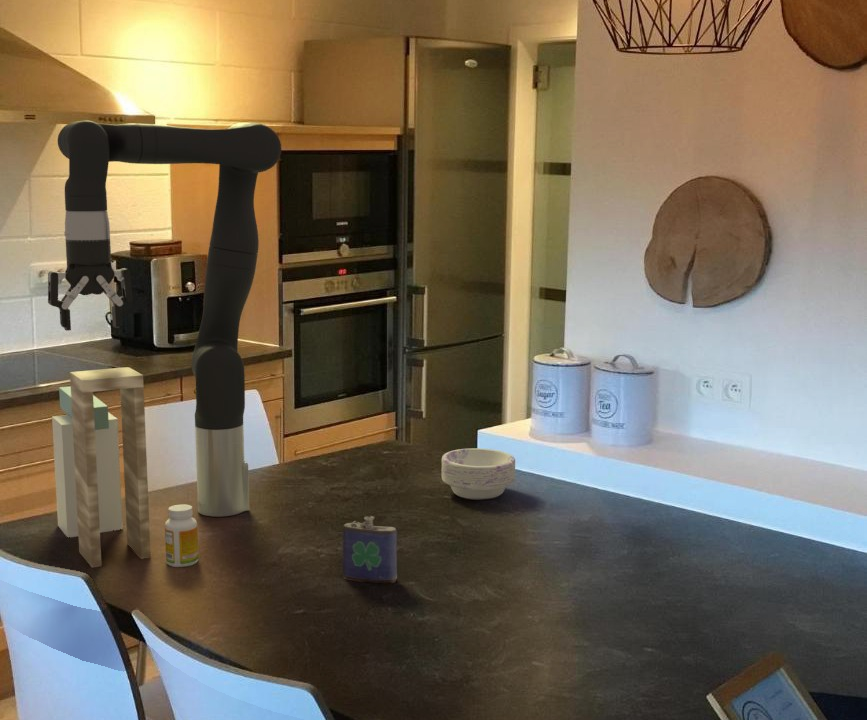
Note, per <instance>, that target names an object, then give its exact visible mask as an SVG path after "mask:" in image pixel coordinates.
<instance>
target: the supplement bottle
mask: <svg viewBox="0 0 867 720" xmlns="http://www.w3.org/2000/svg"><path fill="white" fill-rule="evenodd" d="M167 511H168V517H169V518H168V519H167V520H166V521H165V522H164V536H165V537H164V539H165V543H164V544H165V560H166V561H165V562H166V565H168V566H169V567H173V568H185V567H190V566H193V565H196V564H197V563H198V561H199V539H198V538H199V537H198V535H199V534H198V522H197V520H196V518H194V517H192V516H193V514H194V512H193V506H192V505H190V504H185V503H183V504H175V505H171V506H169V507H168V510H167Z"/></svg>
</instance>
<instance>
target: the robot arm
mask: <svg viewBox="0 0 867 720" xmlns="http://www.w3.org/2000/svg"><path fill="white" fill-rule="evenodd" d="M57 146H58V149H59V151H60V152H61V154H62V155H63V156H64V157H65V158H67V159H68V164H69V165H68V166H69V167H68V178H67V179H66V181H65V183H64V205H65V206H64V207H65V219H64V238H65V239H64V240H65V253H66V254H65V257H66V270H65V271H64V272H58V271H57V272H56V271H54V270H50V271H48V273H47V303H48V305H50V306H52V307H56V308H58V310H59V319H60V321H59V324H60V326H61V327H62V328H63V329H64V330H65V331H66V332H67V331H71V330H72V327H71V325H72V323H71V321H72V320H71V309H69V308H70V306H71V305H72V303H74V302H73V301H75V300H76V298H77V297H78V296H79V295H81V296H88V295H89V296H90V295H102V294H104V295H105V296H106V297H107V299H109V300H110V302H112V304H113V305H111V319H112V326H113V328H120V326H121V325H122V324H123V322H124V321H123V320H124V316H123V306H124V305H125V304H128V303H131V302H133V300H134V297H133V289H132V288H133V286H132V278H131V271H130V270H129V269H128V268H125V267H124V268H120V269H113V267H112V252H111V251H112V250H111V247H112V246H111V232H110V230H111V229H110V227H111V226H110V221H109V220H110V219H109V214H108V197H107V196H108V195H107V187H106V186H107V185H106V184H107V178H108V173H109V172H108V171H109V163H111V162H119V163H125V164H135V165H137V164H140V165H175V164H176V165H177V164H178V165H179V164H181V165H182V164H209V165H210V164H211V165H219V167H218V168H219V169H218V170H219V171H218V185H217V186H218V188H217V199H216V204H215V208H214V209H215V210H214V215H213V216H214V217H213V221H212V230H211V236H210V241H209V244H208V246H209V247H208V253H207V260H206V266H205V279H204V280H205V281H204V287H203V288H204V289H203V290H204V291H203V309H202V317H201V321H200V327H199V330H198V334H197V337H196V338H197V339H196V342H195V345H194V350H193V354H192V357H191V364H190V365H191V370H192V374H193V376H194V378H195V399H196V401H195V402H196V403H195V413H194V432H195V433H194V434H195V436H194V437H195V458H196V459H195V460H196V490H197V491H196V492H197V500H196V501H197V512H198V514H201V515H203V516H205V517H217V518H218V517H221V518H222V517H229V516H235V515H238V514H241V513H244V512H247V511H250V490H249V489H250V487H249V486H250V485H249V484H250V482H249V464H248V462H247V461H245V440H244V439H245V438H244V437H245V436H244V414H245V409H246V408H245V407H246V397H245V396H246V383H245V382H246V379H245V378H246V377H245V375H246V374H245V364H244V361H243V358H242V357H241V355H240V354H239V352H238V348H239V347H238V346H239V345H238V343H239V341H238V340H239V329H240V322H241V317H242V314H243V310H244V307H245V305H246V302H247V300H248V297H249V295H250V292H251V288H252V287H253V281H254V277H255V274H256V267H257V260H258V254H259V246H260V245H259V244H260V243H259V241H260V240H259V232H258V231H259V230H258V225H257V219H256V211H255V192H256V191H255V190H256V186H257V181H258V176H259V173H262V172H263V173H264V172H266V171H268V170H270V169H272V168H273V167H274V166H275V165H276V164H277V163H278V162H279V160H280V158H281V154H282V142H281V140H280V138H279V135H278V133H276V132H275V130H273V129H272V128H270V127H269V126H268V125H265V124H263V123H257V122H237V123H235V124H232V125H231V126H230V127H228V128H197V127H195V128H194V127H186V126H176V125H166V124H155V123H154V124H153V123H136V122H135V123H121V124H109V123H97V122H95V121H92V120H78V121H71V122H70V123H68V124H66V125H65V126H64V127H62V128H61V130H60V131H59V132H58V136H57ZM115 277H116V279H117V281H119V282H120V287H121V293H122V295H121V296H119V295H118V294H117V292H116V291H115V290H114V289H113V288H112V286H111V285H110V284H111V282H113V279H114V278H115ZM64 279H65V280H66V282H67V283H68V284H69V287H68V289H67V290H66V291H65V293H64V296H63V297H62V298H61V300H59V285H61V284H62V283H63V280H64Z"/></svg>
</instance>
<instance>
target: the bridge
mask: <svg viewBox="0 0 867 720" xmlns="http://www.w3.org/2000/svg"><path fill="white" fill-rule="evenodd" d="M69 380H70V381H69V382H70V385H69V386H71V403H72V422H73V441H74V460H75V479H76V498H77V517H78V536H77V537H78V552H79V554H80V555H81V556H82V557H83V559H84V560H85V561H86V562H87V564H89V566H90V568H92V569H93V568H98V567H102V550H101V549H102V548H101V533H100V524H99V504H98V484H97V464H96V444H95V423H94V403H93V395H94V393H95V392H103V391H115V390H119V392H120V393H119V395H120V411H121V413H120V414H121V416H120V417H121V431H122V432H121V433H122V454H123V455H122V456H123V476H124V477H123V478H124V479H123V480H124V498H125V499H124V500H125V502H124V504H125V520H126V521H125V522H126V523H125V524H126V542H127V543H126V544H128V545H129V546H130V547H131V548H132V549H133V550H134V551H133V550H132V549H131V548H130V547H129V546H128V545H127V546H128V547H129V548H130V549H131V550H132V551H133V552H134V553H135V552H136V553H137V554H136V553H135V554H136V555H137V556H138V557H139V558H140V559H141V560H144V558H146V559H150V558H149V557H151V558H152V556H151V555H152V553H151V533H150V532H151V531H150V510H149V509H150V508H149V504H150V503H149V484H148V483H149V481H148V461H147V460H148V459H147V438H146V437H147V436H146V415H145V413H146V411H145V391H144V390H145V389H144V388H145V387H144V374H142V373H140V372H138V371H136V370H135V369H133V368H131V367H130V366H129V367H127V366H126V367H125V366H124V367H115V368H113V367H112V368H104V369H92V370H91V369H90V370H89V369H88V370H81V371H80V370H79V371H70V372H69Z"/></svg>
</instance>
